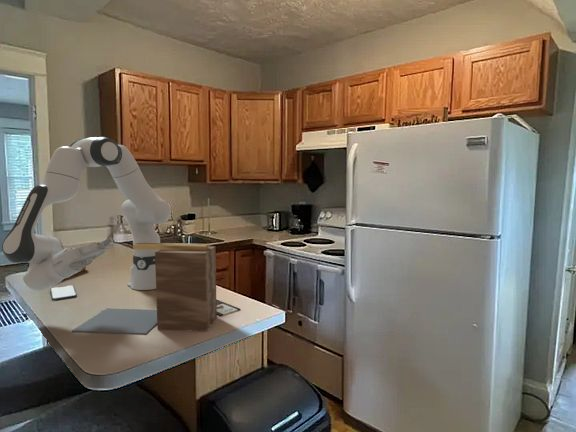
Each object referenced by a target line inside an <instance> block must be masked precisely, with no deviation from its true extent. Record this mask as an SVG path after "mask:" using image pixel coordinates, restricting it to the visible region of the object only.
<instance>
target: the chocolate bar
mask: <svg viewBox="0 0 576 432" xmlns="http://www.w3.org/2000/svg"><path fill="white" fill-rule="evenodd" d="M216 304H217V317H218V316H219V317H223V315H224V316H226V314H227V315H230V314H233V313H236V312H239V311H241V307H237V306H234V305H232V304H229V303H226V302H224V301H222V300H218V299H217V298H216ZM232 312H233V313H232ZM229 313H230V314H229Z"/></svg>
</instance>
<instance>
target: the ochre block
mask: <svg viewBox="0 0 576 432" xmlns="http://www.w3.org/2000/svg"><path fill="white" fill-rule="evenodd" d="M209 246H210V244H209V243H179V242H178V243H176V242H175V243H174V242H173V243H171V242H160V243H137V244H134V245H133V244H132V249H133V250H134V249H137V250H189V251H206V250H208V249H209Z"/></svg>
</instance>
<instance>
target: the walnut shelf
mask: <svg viewBox="0 0 576 432" xmlns="http://www.w3.org/2000/svg"><path fill="white" fill-rule="evenodd" d="M216 250H217V249H216V245H214V246H213V245H209V249H208V250H206V251H189V250H159V251H157V252H155V270H156V289H155V292H156V294H155V296H156V298H155V299H156V310H157V325H156V326H157V330H160V331H164V330H165V331H185V330H192V331H191V332H207V331H208V330H209V329H210V327H211V326H212V325H211V324H213V323H214V322H215V321H216V319H217V318H218V315H217V304H216V299H217V263H216V262H217V260H216V259H217V258H216V254H217V253H216V252H217V251H216ZM216 317H217V318H216ZM213 321H214V322H213ZM210 325H211V326H210ZM208 328H209V329H208ZM195 330H196V331H195Z"/></svg>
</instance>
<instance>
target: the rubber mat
mask: <svg viewBox="0 0 576 432" xmlns="http://www.w3.org/2000/svg"><path fill="white" fill-rule="evenodd" d="M156 326H157V309H138V308H135V309H134V308H105V309H103V310H102V311H100V312H99V313H97V314H96V315H94V316H92V317H91V318H90V319H88V320H86V321H85V322H83V323H81V324H79V325H78V326H77V327H75V328H73V329H72V330H71V333H97V334H98V333H99V334H100V333H101V334H122V335H123V334H125V335H126V334H127V335H147V334H148V333H149V332H150V331H151V330H153V329H154V328H155V327H156Z"/></svg>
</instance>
